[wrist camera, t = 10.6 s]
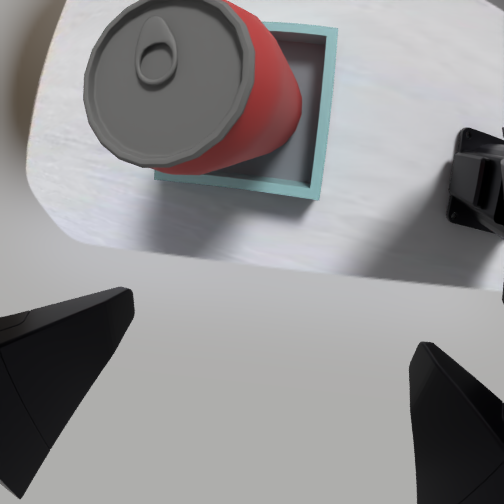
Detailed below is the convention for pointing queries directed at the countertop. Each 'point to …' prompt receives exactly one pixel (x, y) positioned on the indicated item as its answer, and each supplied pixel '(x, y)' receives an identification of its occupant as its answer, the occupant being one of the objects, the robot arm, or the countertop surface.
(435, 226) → the countertop surface
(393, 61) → the countertop surface
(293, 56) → the tray
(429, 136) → the countertop surface
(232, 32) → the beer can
